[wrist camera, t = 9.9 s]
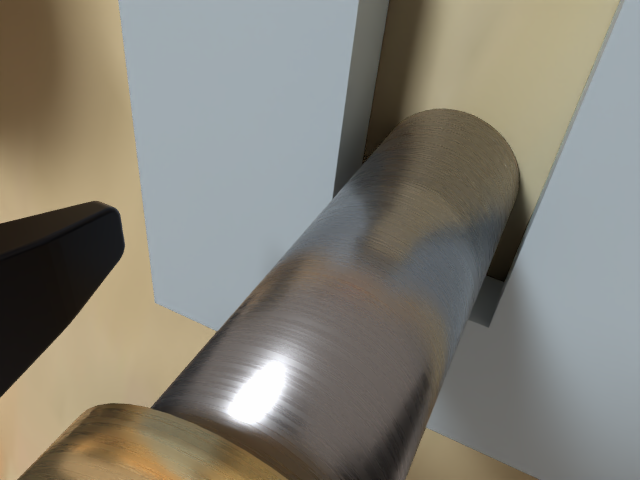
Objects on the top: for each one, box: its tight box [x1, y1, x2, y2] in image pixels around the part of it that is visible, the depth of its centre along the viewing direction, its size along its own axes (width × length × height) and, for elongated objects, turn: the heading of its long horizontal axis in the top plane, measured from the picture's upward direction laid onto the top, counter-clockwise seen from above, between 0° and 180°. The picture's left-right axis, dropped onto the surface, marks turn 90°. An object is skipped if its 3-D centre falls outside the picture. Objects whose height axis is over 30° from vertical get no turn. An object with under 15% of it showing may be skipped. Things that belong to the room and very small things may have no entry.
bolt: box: [17, 109, 519, 480], centre depth 9 cm, size 4×4×10 cm
